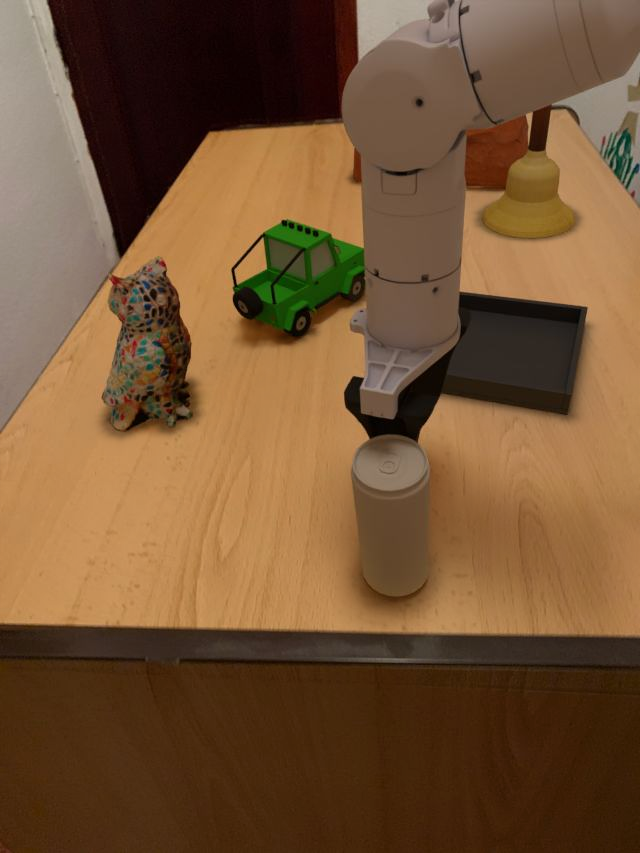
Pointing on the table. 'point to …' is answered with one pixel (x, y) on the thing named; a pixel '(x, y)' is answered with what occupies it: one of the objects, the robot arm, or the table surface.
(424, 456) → the beverage can
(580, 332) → the tray
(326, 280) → the toy car
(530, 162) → the handbell
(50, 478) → the table surface
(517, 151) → the bread
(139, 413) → the figurine
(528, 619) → the table surface
